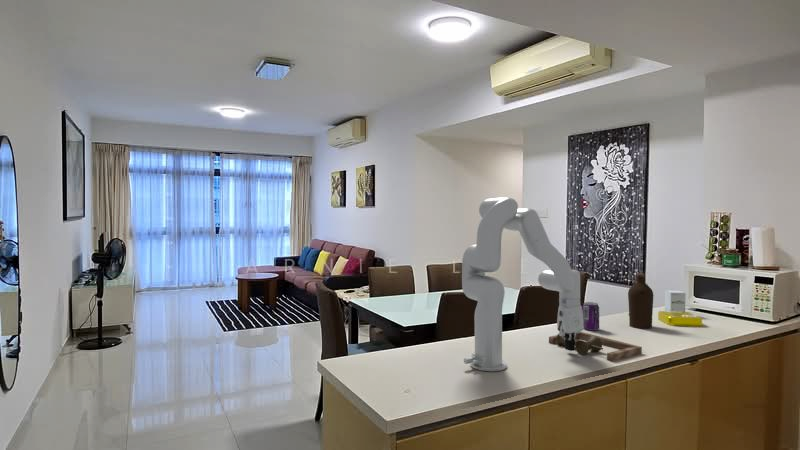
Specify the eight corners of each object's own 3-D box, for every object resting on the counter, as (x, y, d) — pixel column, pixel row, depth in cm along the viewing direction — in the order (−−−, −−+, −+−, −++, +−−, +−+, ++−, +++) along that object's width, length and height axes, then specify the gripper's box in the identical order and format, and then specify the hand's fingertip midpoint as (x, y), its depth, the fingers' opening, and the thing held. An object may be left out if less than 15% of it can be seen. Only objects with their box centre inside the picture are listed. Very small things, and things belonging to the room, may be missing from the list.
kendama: (566, 343, 190) (611, 354, 173) (551, 348, 184) (595, 359, 167) (566, 329, 190) (610, 338, 173) (550, 333, 184) (594, 343, 167)
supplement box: (670, 316, 236) (670, 292, 236) (664, 313, 243) (664, 290, 243) (685, 317, 235) (685, 292, 234) (679, 313, 242) (679, 290, 242)
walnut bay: (611, 361, 164) (611, 354, 164) (548, 342, 189) (548, 336, 189) (641, 353, 173) (641, 346, 173) (577, 336, 198) (577, 330, 198)
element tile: (688, 320, 229) (689, 310, 228) (703, 327, 214) (703, 317, 214) (656, 319, 231) (656, 310, 231) (669, 326, 216) (669, 316, 216)
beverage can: (600, 331, 207) (600, 305, 207) (584, 330, 208) (584, 304, 208) (597, 327, 214) (597, 302, 214) (581, 327, 215) (581, 301, 215)
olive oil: (658, 328, 211) (658, 274, 211) (638, 329, 209) (638, 275, 209) (643, 323, 221) (642, 272, 221) (623, 324, 220) (623, 272, 219)
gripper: (564, 305, 167) (564, 355, 168) (591, 301, 175) (591, 349, 175) (548, 302, 174) (548, 350, 174) (574, 298, 181) (574, 344, 181)
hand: (569, 349), depth 174 cm, fingers closed
